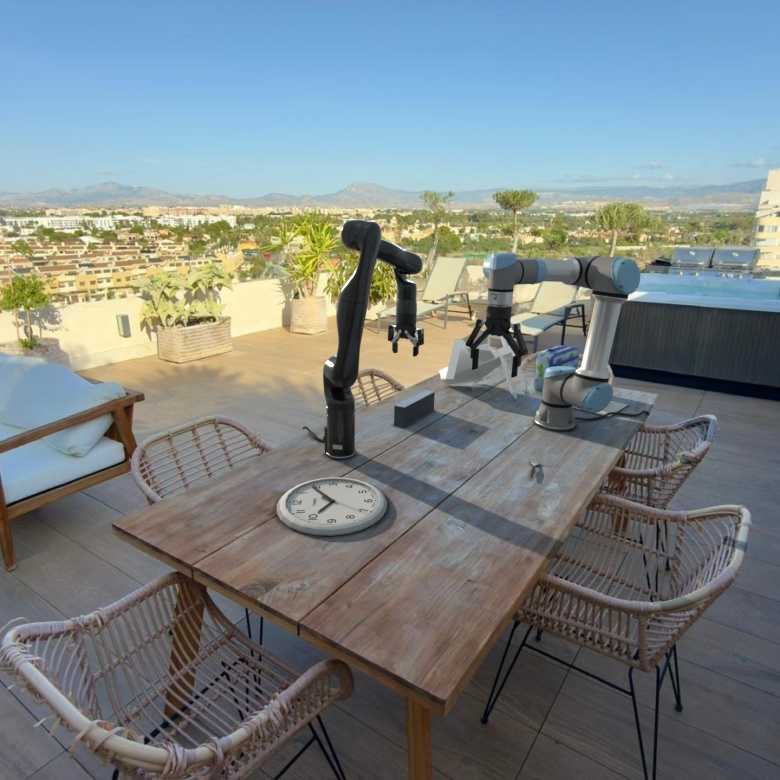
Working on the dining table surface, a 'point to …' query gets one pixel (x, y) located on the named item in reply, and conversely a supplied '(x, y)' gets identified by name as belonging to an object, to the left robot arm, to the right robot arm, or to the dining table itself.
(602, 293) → the right robot arm
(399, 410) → the bar
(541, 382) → the lunch box
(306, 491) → the wall clock
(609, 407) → the invitation card
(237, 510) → the dining table surface
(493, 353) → the white plastic object
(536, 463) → the fork
